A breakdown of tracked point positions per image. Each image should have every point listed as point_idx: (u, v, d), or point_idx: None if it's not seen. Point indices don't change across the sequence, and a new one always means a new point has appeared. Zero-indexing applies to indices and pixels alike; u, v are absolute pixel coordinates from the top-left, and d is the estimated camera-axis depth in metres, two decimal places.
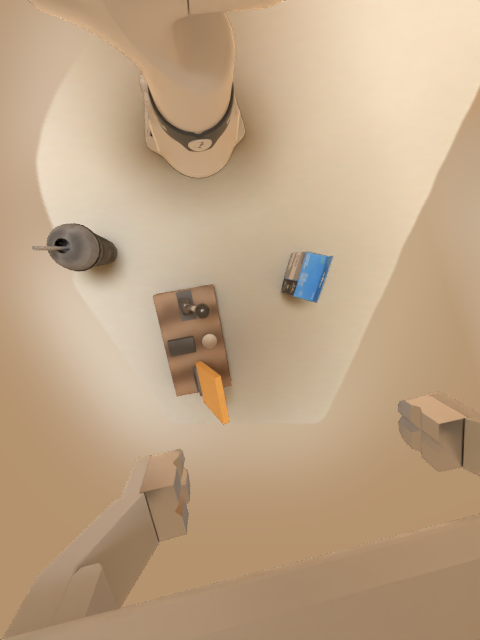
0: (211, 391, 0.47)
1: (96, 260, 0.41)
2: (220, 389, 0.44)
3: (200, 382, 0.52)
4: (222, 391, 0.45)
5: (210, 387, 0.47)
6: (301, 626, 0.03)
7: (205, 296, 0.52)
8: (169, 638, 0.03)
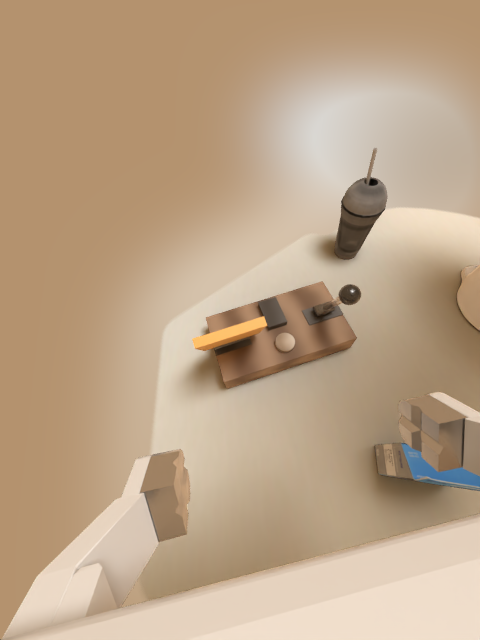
0: None
1: (358, 215, 0.43)
2: (247, 327, 0.31)
3: None
4: (243, 331, 0.31)
5: None
6: (301, 626, 0.03)
7: (340, 331, 0.41)
8: (169, 638, 0.03)
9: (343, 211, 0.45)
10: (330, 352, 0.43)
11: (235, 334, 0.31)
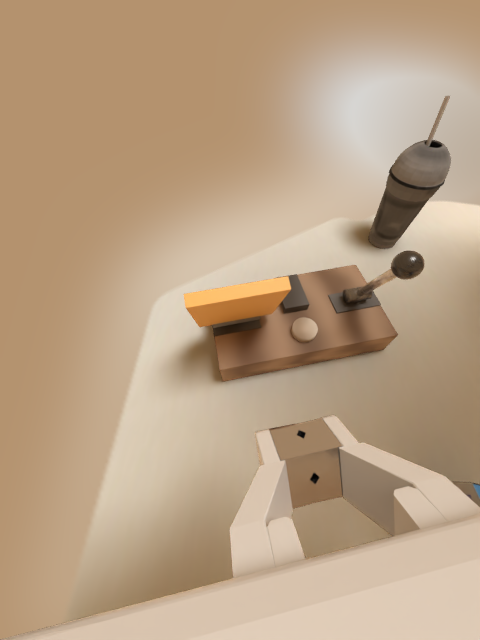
0: None
1: (411, 185, 0.35)
2: (262, 288, 0.22)
3: None
4: (257, 292, 0.22)
5: None
6: (301, 626, 0.03)
7: (376, 324, 0.32)
8: (169, 639, 0.03)
9: (390, 182, 0.37)
10: (359, 350, 0.33)
11: (245, 295, 0.22)
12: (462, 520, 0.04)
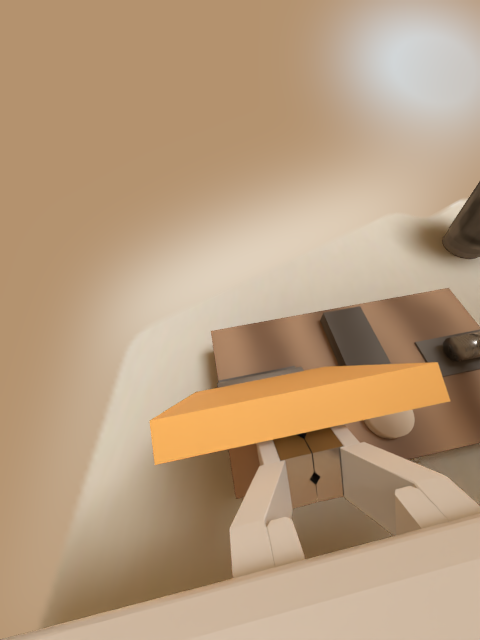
0: (297, 381, 0.11)
1: None
2: (372, 399, 0.08)
3: (266, 378, 0.17)
4: (358, 412, 0.08)
5: (313, 377, 0.11)
6: (301, 626, 0.03)
7: None
8: (169, 639, 0.03)
9: None
10: None
11: (324, 423, 0.08)
12: (462, 520, 0.04)
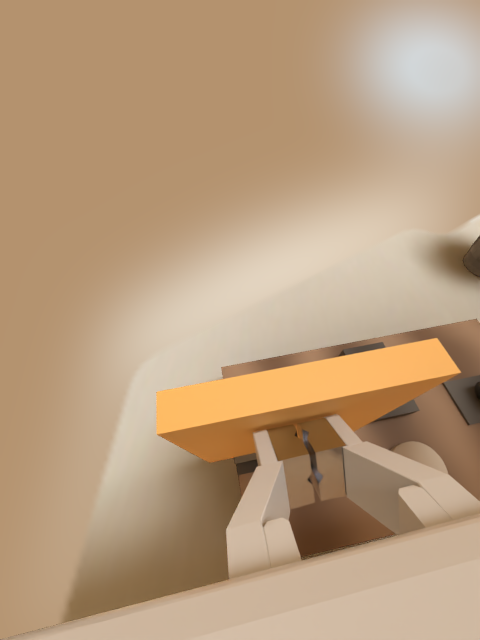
0: None
1: None
2: (376, 371, 0.08)
3: None
4: (365, 384, 0.08)
5: None
6: (301, 626, 0.03)
7: None
8: (169, 639, 0.03)
9: None
10: None
11: (330, 394, 0.07)
12: (462, 520, 0.04)
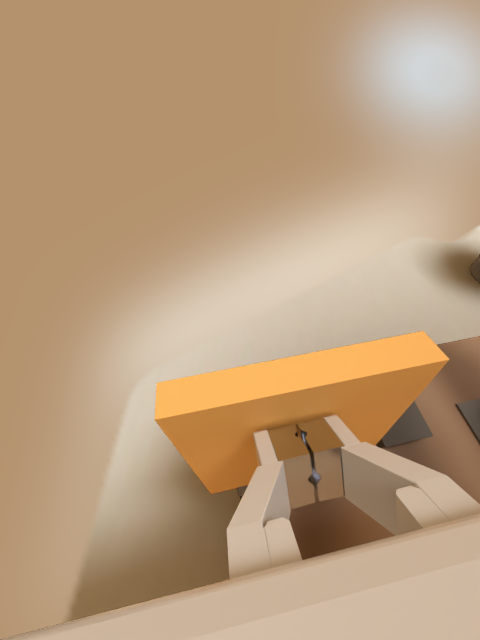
0: None
1: None
2: (367, 360, 0.08)
3: None
4: (356, 371, 0.08)
5: None
6: (301, 626, 0.03)
7: None
8: (169, 638, 0.03)
9: None
10: None
11: (323, 381, 0.08)
12: (462, 520, 0.04)
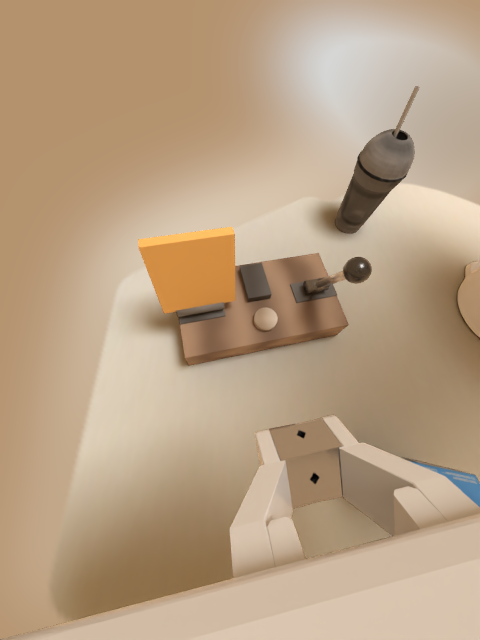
0: None
1: (376, 176, 0.35)
2: (209, 234, 0.25)
3: None
4: (204, 236, 0.24)
5: None
6: (301, 626, 0.03)
7: (330, 314, 0.35)
8: (169, 639, 0.03)
9: (358, 170, 0.37)
10: (314, 337, 0.37)
11: (193, 239, 0.24)
12: (462, 520, 0.04)
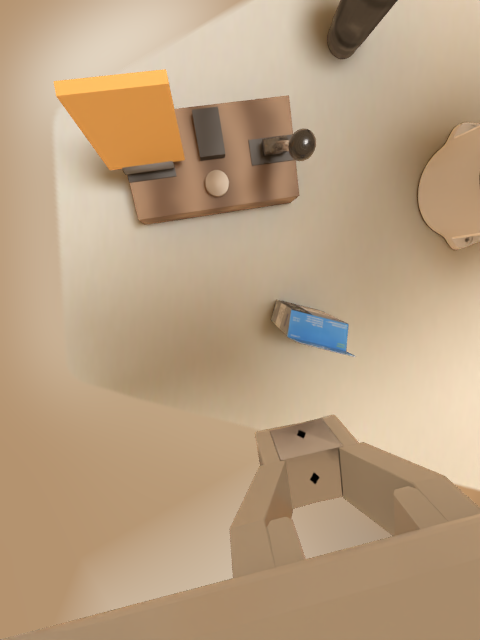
0: None
1: None
2: (138, 80, 0.21)
3: None
4: (132, 84, 0.21)
5: None
6: (301, 626, 0.03)
7: (284, 182, 0.35)
8: (169, 639, 0.03)
9: None
10: (267, 204, 0.38)
11: (119, 87, 0.21)
12: (462, 520, 0.04)
